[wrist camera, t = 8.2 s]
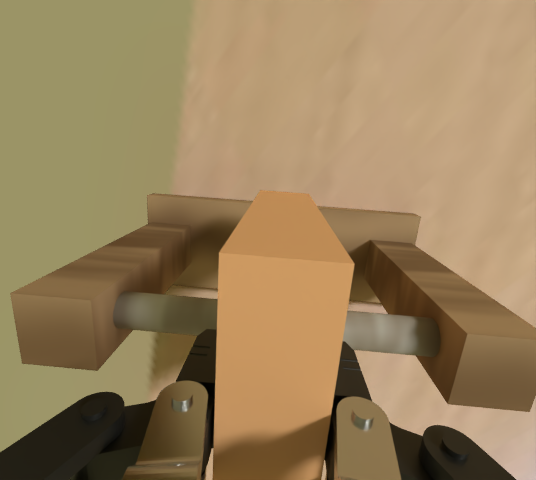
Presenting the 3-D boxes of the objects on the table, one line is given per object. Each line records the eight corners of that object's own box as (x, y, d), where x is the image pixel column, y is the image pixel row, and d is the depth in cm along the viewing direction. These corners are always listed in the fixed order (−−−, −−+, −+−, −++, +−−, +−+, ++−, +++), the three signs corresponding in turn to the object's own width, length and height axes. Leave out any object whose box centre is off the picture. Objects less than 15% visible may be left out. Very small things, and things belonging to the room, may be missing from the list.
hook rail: (153, 193, 24) (-8, 239, 11) (414, 213, 23) (584, 289, 10) (156, 277, 26) (22, 404, 12) (396, 297, 25) (521, 454, 12)
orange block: (260, 190, 18) (218, 252, 6) (308, 193, 18) (354, 263, 6) (251, 340, 20) (209, 573, 9) (292, 344, 20) (304, 584, 9)
